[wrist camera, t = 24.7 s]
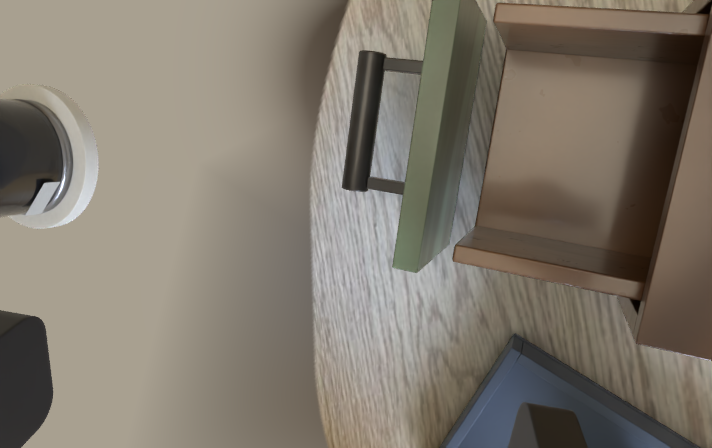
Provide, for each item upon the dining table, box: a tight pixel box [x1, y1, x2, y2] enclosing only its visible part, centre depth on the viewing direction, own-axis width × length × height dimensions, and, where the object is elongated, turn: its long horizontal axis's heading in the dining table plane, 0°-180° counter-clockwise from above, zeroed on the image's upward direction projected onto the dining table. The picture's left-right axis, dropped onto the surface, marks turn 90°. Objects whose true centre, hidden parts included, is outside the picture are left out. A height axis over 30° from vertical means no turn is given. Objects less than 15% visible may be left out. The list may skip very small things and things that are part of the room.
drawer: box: [342, 0, 710, 301], centre depth 26 cm, size 19×13×8 cm
